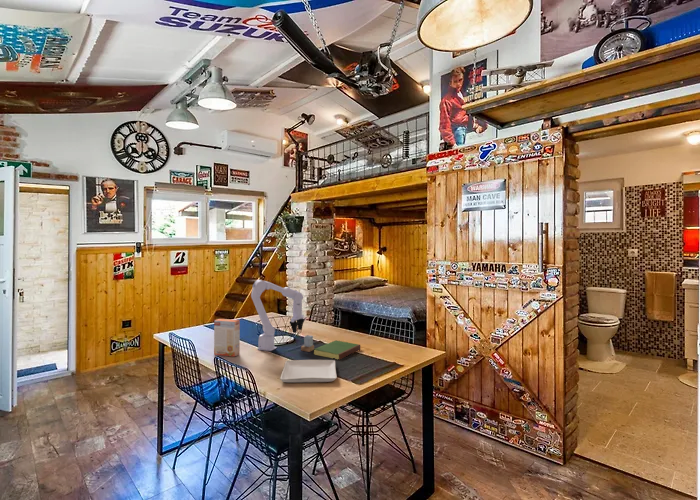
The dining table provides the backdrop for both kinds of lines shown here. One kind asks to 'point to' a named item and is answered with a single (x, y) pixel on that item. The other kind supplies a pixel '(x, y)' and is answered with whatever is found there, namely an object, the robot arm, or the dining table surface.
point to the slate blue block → (308, 341)
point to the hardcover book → (336, 349)
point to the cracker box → (227, 337)
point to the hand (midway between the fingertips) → (297, 331)
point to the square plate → (309, 371)
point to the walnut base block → (307, 348)
